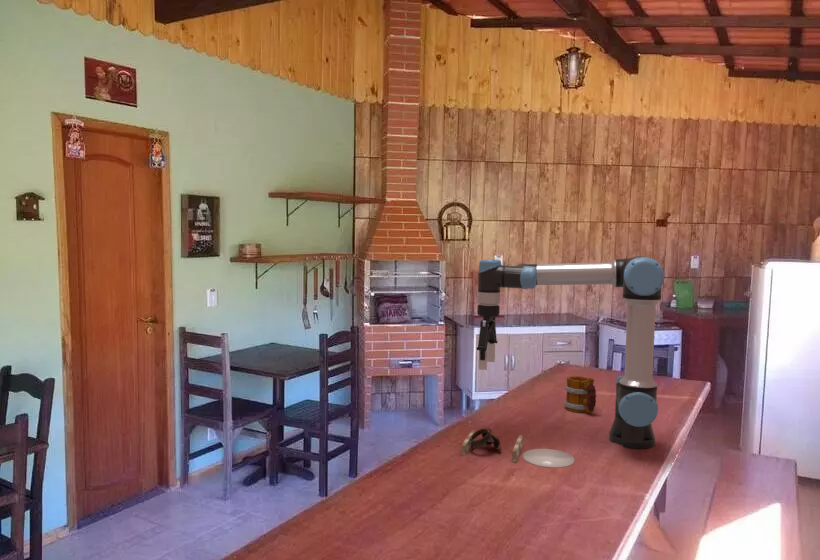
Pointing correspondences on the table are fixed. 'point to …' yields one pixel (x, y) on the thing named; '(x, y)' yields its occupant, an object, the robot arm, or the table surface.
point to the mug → (580, 394)
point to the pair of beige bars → (515, 452)
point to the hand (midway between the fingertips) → (486, 365)
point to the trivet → (548, 458)
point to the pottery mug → (485, 439)
